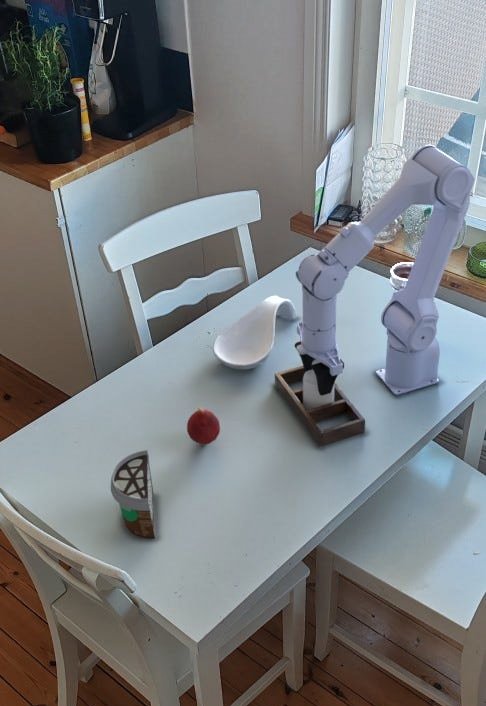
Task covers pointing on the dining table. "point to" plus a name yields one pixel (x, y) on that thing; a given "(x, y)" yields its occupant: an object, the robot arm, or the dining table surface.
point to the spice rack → (320, 410)
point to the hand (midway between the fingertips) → (318, 384)
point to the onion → (203, 426)
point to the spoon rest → (252, 335)
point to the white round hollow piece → (400, 275)
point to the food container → (135, 494)
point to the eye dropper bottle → (314, 391)
